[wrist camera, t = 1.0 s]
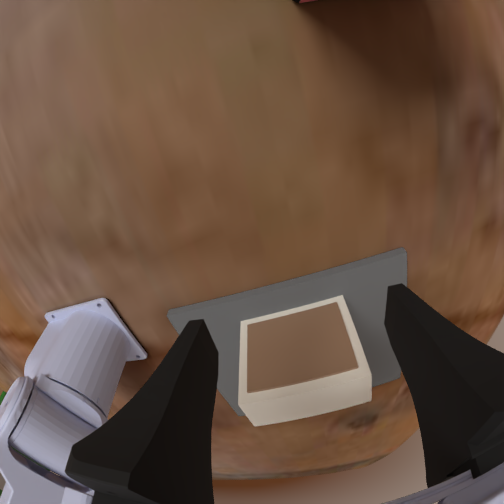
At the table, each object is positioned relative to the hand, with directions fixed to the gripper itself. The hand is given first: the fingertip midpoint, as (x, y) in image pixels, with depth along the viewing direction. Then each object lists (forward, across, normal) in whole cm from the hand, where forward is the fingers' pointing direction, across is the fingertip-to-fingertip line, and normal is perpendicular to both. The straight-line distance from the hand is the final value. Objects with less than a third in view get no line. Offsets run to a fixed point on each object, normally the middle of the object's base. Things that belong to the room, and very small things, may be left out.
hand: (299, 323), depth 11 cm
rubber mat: (+10, 0, +15) cm, 18 cm away
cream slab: (+10, 0, +10) cm, 14 cm away
